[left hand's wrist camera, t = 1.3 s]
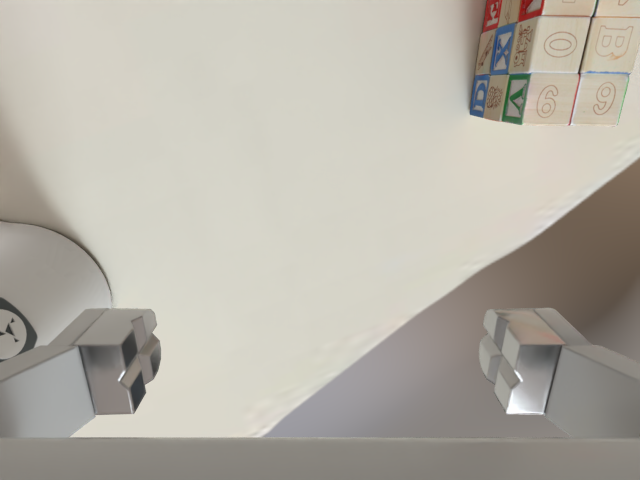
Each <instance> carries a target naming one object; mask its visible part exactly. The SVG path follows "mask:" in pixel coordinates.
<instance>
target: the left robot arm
mask: <svg viewBox="0 0 640 480" xmlns="http://www.w3.org/2000/svg"><path fill="white" fill-rule="evenodd" d="M156 326H157V322H156V318H155V313H154V312H153V311H152V310H151V309H123V308H112V299H111V293H110V289H109V286H108V284H107V281H106V279H105V277H104V275H103V273H102V272H101V270H100V268H99V267H98V266H97V264H96V263H95V262H94V260H93V259H92V258H91V257H90V256H89V255H88V254H87V253H86V252H85V251H84V250H83V249H82V248H80V247H79V246H78V245H77V244H75V243H74V242H72V241H71V240H69V239H68V238H66V237H64V236H62V235H60V234H58V233H56V232H54V231H51V230H49V229H46V228H43V227H39V226H35V225H29V224H19V223H9V222H3V221H0V480H640V363H639V362H637V361H635V360H632V359H630V358H628V357H625V356H623V355H621V354H618V353H616V352H614V351H611V350H609V349H607V348H604V347H602V346H595V345H592V344H591V343H590V342H589V341H588V340H586V339H585V338H584V337H583V336H582V335H581V334H580V333H579V332H578V331H577V330H576V329H575V328H574V327H573V326H572V325H571V324H570V323H569V322H568V321H567V320H565V319H564V318H563V317H562V316H561V315H560V314H559V313H558V312H557V311H556V310H555V309H552V308H527V309H491V310H487V312H486V314H485V316H484V322H483V326H484V327H485V329H486V330H487V332H488V333H487V334H486V335H485V336H484V337H483V338H482V340H481V341H480V348H479V358H480V365H481V369H482V372H483V374H484V376H485V377H486V379H487V380H488V381H490V382H492V383H493V384H495V390H494V394H495V395H496V397H497V399H498V401H499V402H500V404H501V406H502V408H503V409H504V411H505V413H506V414H530V415H545V417H546V418H547V419H548V420H550V421H551V422H552V423H553V424H555V425H556V426H557V427H559V428H560V429H561V430H563V431H564V432H565V433H566V434H568V435H569V436H570V437H568V438H567V437H564V438H563V437H561V438H560V437H559V438H558V437H545V438H543V437H540V438H539V437H538V438H537V437H532V438H531V437H530V438H529V437H524V438H523V437H522V438H521V437H516V438H514V437H513V438H511V437H510V438H507V437H503V438H501V437H500V438H499V437H498V438H497V437H496V438H495V437H494V438H493V437H488V438H486V437H480V438H479V437H477V438H68V437H70V436H71V435H72V434H74V433H75V432H76V431H78V430H79V429H80V428H81V427H83V426H84V425H85V424H87V423H88V422H89V421H91V420H92V419H93V418H95V415H110V414H134V413H135V411H136V409H137V408H138V406H139V404H140V402H141V401H142V399H143V397H144V395H145V394H146V390H145V384H147V383H149V382H150V381H152V380H153V379H154V377H155V376H156V374H157V372H158V369H159V365H160V360H161V347H160V341H159V340H158V338H157V337H156V336H155V335H154V334H153V333H152V332H153V330H154V329H155V327H156Z"/></svg>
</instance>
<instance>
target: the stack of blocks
mask: <svg viewBox="0 0 640 480" xmlns="http://www.w3.org/2000/svg"><path fill="white" fill-rule="evenodd" d="M639 44H640V0H487V4H486V11H485V18H484V25H483V33H482V34H481V36H480V43H479V50H478V56H477V63H476V69H475V79H474V85H473V92H472V100H471V107H470V115H473V116H477V117H481V118H485V119H489V120H494V121H499V122H507V123H513V124H518V125H548V126H568V125H578V126H617V124H618V122H619V118H620V114H621V110H622V106H623V102H624V98H625V94H626V90H627V86H628V82H629V74H631V73H632V70H633V67H634V62H635V59H636V55H637V52H638V48H639Z"/></svg>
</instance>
